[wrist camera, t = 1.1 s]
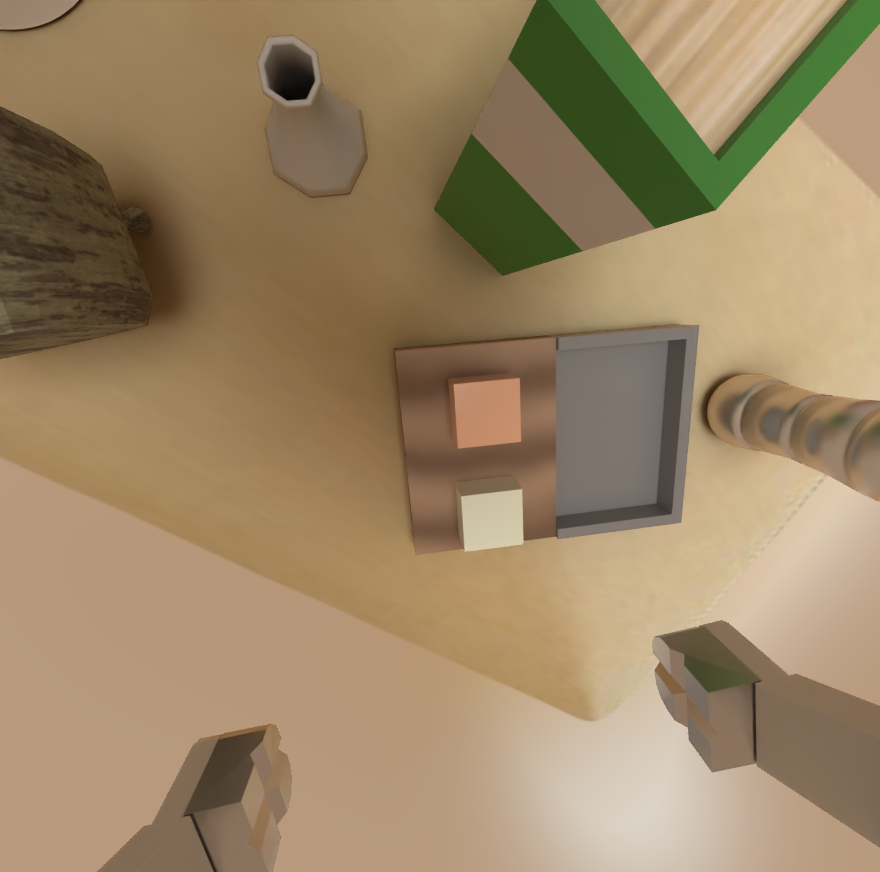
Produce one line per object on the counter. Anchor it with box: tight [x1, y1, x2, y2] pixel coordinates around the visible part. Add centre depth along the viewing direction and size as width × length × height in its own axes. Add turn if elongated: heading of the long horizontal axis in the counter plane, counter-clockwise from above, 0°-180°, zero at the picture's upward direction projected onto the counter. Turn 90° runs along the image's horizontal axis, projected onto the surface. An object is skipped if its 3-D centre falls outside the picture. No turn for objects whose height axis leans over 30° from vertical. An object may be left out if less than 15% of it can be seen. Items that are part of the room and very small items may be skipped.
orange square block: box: [448, 373, 521, 449], centre depth 34 cm, size 5×5×3 cm
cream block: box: [455, 476, 523, 552], centre depth 37 cm, size 5×5×3 cm
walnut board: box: [394, 336, 556, 555], centre depth 38 cm, size 18×13×2 cm
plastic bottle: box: [707, 374, 880, 501], centre depth 32 cm, size 6×7×20 cm
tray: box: [547, 325, 699, 539], centre depth 39 cm, size 18×12×3 cm, turn 4°
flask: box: [257, 35, 367, 197], centre depth 27 cm, size 7×7×10 cm
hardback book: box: [434, 0, 880, 275], centre depth 22 cm, size 18×7×24 cm, turn 140°
